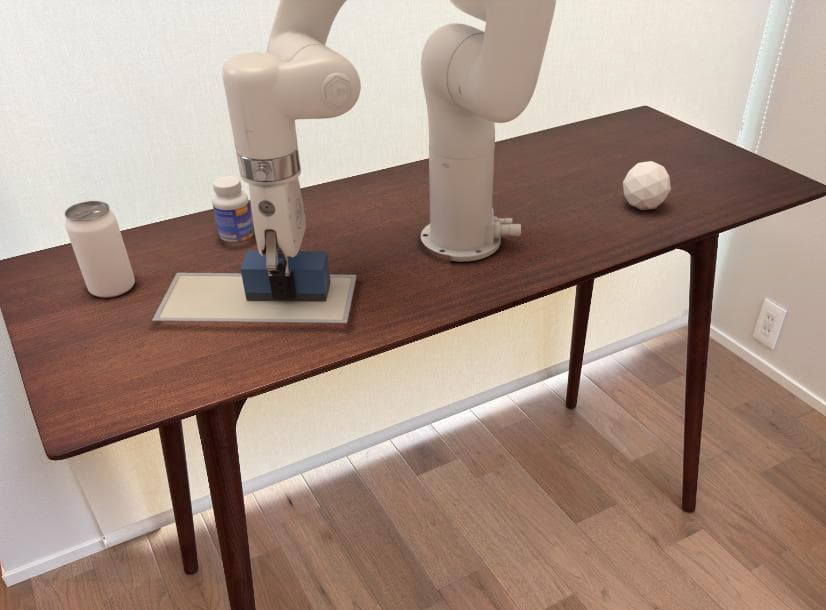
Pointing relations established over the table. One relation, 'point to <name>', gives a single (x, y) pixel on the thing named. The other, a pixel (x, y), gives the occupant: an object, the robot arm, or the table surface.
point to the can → (99, 249)
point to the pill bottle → (232, 210)
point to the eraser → (305, 268)
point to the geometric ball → (646, 185)
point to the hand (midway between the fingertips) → (288, 285)
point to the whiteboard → (248, 302)
